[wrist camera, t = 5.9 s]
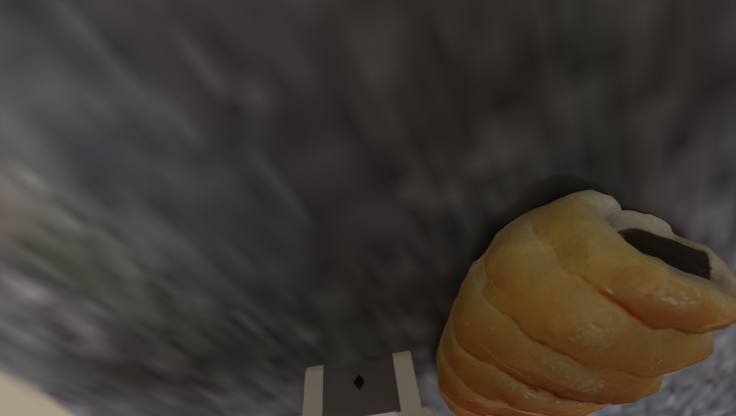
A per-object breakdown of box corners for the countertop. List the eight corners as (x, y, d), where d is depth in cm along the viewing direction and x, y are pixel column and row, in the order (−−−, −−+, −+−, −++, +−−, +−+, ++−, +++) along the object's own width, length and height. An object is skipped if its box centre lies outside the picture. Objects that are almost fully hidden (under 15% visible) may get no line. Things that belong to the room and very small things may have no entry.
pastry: (527, 390, 16) (574, 494, 13) (385, 364, 14) (399, 478, 11) (703, 223, 12) (842, 321, 8) (527, 155, 10) (619, 247, 7)
